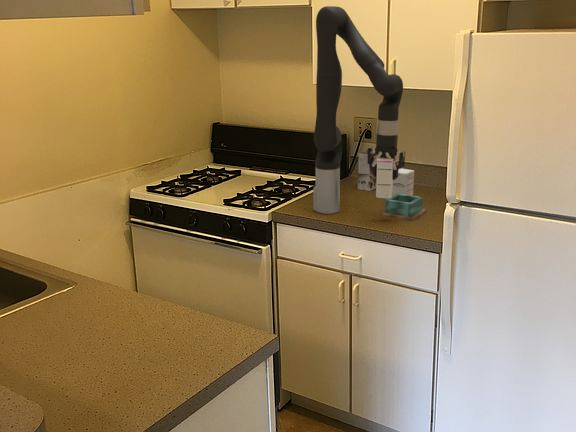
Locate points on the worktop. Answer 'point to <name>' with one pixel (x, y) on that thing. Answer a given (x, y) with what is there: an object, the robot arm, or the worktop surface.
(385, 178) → the syrup box
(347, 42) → the robot arm
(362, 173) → the coffee box
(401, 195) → the socket collar
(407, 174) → the supplement box
